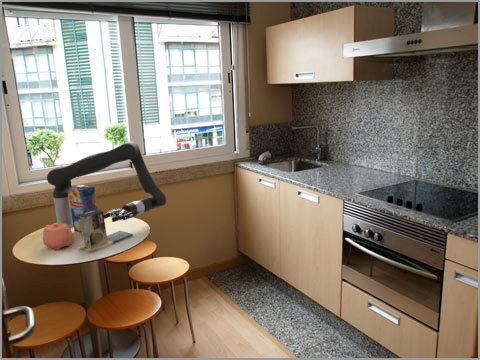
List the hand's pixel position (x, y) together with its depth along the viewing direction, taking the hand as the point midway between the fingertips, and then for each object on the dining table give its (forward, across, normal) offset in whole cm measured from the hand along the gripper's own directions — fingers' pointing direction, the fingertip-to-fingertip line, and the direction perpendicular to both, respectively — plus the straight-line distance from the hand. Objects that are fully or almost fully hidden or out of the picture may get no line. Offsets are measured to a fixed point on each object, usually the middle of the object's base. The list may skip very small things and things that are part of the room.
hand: (107, 218), depth 192 cm
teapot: (+17, -16, +12) cm, 26 cm away
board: (+2, 0, +12) cm, 12 cm away
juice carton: (-3, -24, +12) cm, 27 cm away
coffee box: (+8, 0, +11) cm, 13 cm away
